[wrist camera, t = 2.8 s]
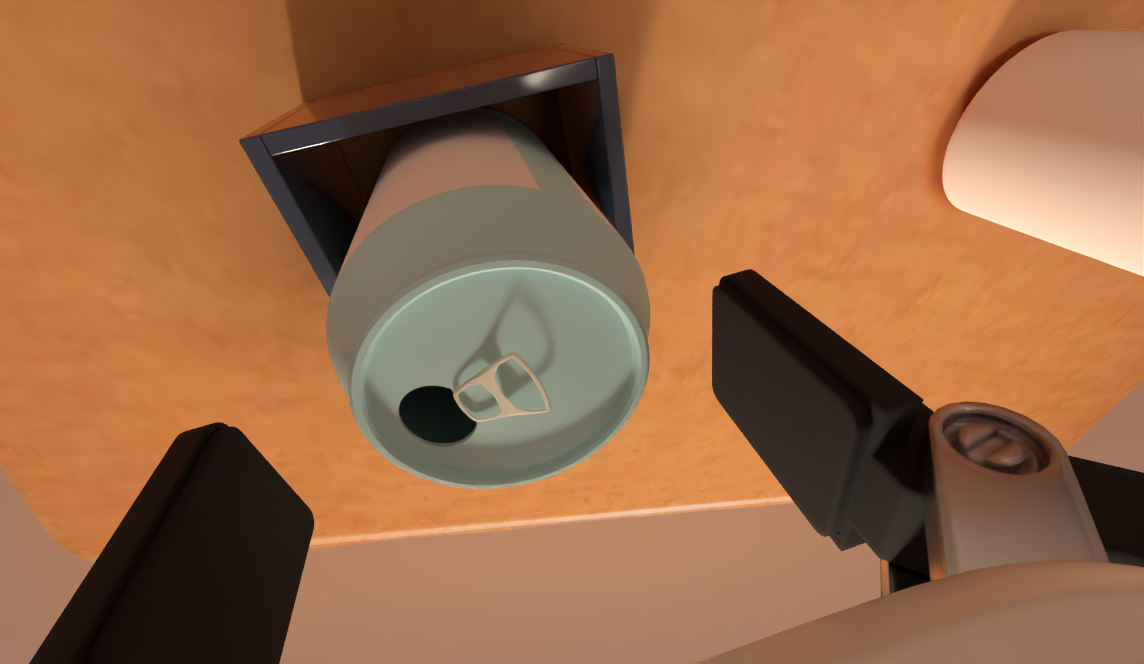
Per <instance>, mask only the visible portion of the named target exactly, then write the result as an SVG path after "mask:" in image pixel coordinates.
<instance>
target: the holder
mask: <svg viewBox="0 0 1144 664" xmlns="http://www.w3.org/2000/svg"><path fill="white" fill-rule="evenodd" d="M554 89H557V91H558V96H559V102H560V108H561V114H562V120H563V125H564V131H565V137H566V143H567V148H568V154H569V160H570V166H571V171H572V177H573V179H574V181H575V182H576V183H577V184H578V185H579V187H580V188H581V189H582V190H583V191H584V193H585V194H586V195H587V196H588V197H589V199H590V200H591V201H592V202H593V203H594V205H595V206H596V207H597V208H598V209H599V211H600V212H601V213H602V214H603V215H604V217H605V218H606V219H607V220H608V221H609V223H610V224H611V225H612V226H613V227H614V229H615V230H616V231H617V232H618V233H619V235H620V236H621V237H622V238H623V239H624V241H625V242H626V244H627V245H628V246H629V248H630V249H631V250H632V252H633V254H634V245H633V235H632V225H631V215H630V206H629V196H628V186H627V177H626V167H625V157H624V147H623V138H622V128H621V118H620V108H619V99H618V89H617V79H616V69H615V60H614V54H613V53H609V52H603V51H598V50H592V49H587V48H581V47H576V46H570V45H565V44H559V45H555V46H551V47H546V48H542V49H537V50H533V51H528V52H524V53H520V54H515V55H511V56H506V57H502V58H498V59H493V60H489V61H484V62H480V63H476V64H471V65H467V66H462V67H458V68H454V69H449V70H445V71H440V72H436V73H432V74H427V75H423V76H418V77H414V78H410V79H405V80H401V81H396V82H392V83H388V84H383V85H379V86H374V87H370V88H366V89H361V90H357V91H352V92H348V93H344V94H339V95H335V96H330V97H326V98H322V99H318V100H313V101H309V102H304V103H302V104H300V105H298V106H297V107H295V108H293V109H291V110H290V111H288V112H286V113H284V114H283V115H281V116H279V117H277V118H276V119H274V120H272V121H271V122H269V123H267V124H265V125H264V126H262V127H260V128H258V129H257V130H255V131H253V132H252V133H250V134H248V135H246V136H245V137H243V138H241V139H240V140H239V142H240V144H241V146H242V147H243V149H244V151H245V152H246V154H247V156H248V158H249V159H250V161H251V163H252V164H253V166H254V168H255V170H256V171H257V173H258V175H259V176H260V178H261V180H262V182H263V183H264V185H265V187H266V189H267V190H268V192H269V194H270V195H271V197H272V199H273V201H274V202H275V204H276V206H277V207H278V209H279V211H280V213H281V214H282V216H283V218H284V220H285V221H286V223H287V225H288V226H289V228H290V230H291V232H292V233H293V235H294V237H295V238H296V240H297V242H298V244H299V245H300V247H301V249H302V251H303V252H304V254H305V256H306V257H307V259H308V261H309V263H310V264H311V266H312V268H313V269H314V271H315V273H316V275H317V276H318V278H319V280H320V281H321V283H322V285H323V287H324V288H325V290H326V292H327V294H328V295H329V297H330V296H331V293H332V290H333V287H334V285H335V282H336V279H337V277H338V274H339V272H340V270H341V267H342V265H343V262H344V260H345V257H346V255H347V253H348V250H349V248H350V245H351V243H352V241H353V238H354V236H355V233H356V231H357V228H358V226H359V224H360V221H361V219H362V216H363V214H364V211H365V209H366V207H365V205H364V203H363V201H362V198H361V196H360V194H359V192H358V190H357V188H356V185H355V183H354V181H353V179H352V177H351V175H350V172H349V170H348V168H347V166H346V164H345V161H344V159H343V157H342V155H341V153H340V151H339V148H338V146H337V144H336V142H335V141H338V140H342V139H347V138H351V137H355V136H359V135H364V134H368V133H372V132H376V131H381V130H385V129H389V128H393V127H398V126H402V125H406V124H410V123H414V122H419V121H423V120H427V119H431V118H436V117H440V116H444V115H448V114H453V113H457V112H461V111H465V110H470V109H474V108H478V107H482V106H486V105H491V104H495V103H499V102H503V101H508V100H512V99H516V98H520V97H525V96H529V95H533V94H537V93H542V92H546V91H550V90H554ZM634 256H635V254H634Z"/></svg>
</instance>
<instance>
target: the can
mask: <svg viewBox="0 0 1144 664" xmlns="http://www.w3.org/2000/svg"><path fill="white" fill-rule="evenodd" d="M649 327H650V303H649V297H648V291H647V286H646V282H645V279H644V275H643V273H642V270H641V268H640V265H639V263H638V261H637V259H636V257H635V256H634V254H633V252H632V250H631V249H630V248H629V246H628V245H627V244H626V242H625V241H624V239H623V238H622V237H621V236H620V235H619V233H618V232H617V231H616V230H615V229H614V227H613V226H612V225H611V224H610V223H609V221H608V220H607V219H606V218H605V217H604V215H603V214H602V213H601V212H600V211H599V209H598V208H597V207H596V206H595V205H594V203H593V202H592V201H591V200H590V199H589V197H588V196H587V195H586V194H585V193H584V191H583V190H582V189H581V188H580V187H579V185H578V184H577V183H576V182H575V181H574V179H573V178H572V177H571V176H570V175H569V173H568V172H567V171H566V170H565V169H564V167H563V166H562V165H561V164H560V163H559V161H558V160H557V159H556V158H555V157H554V155H553V154H552V153H551V152H550V151H549V149H548V148H547V147H546V146H545V145H544V143H543V142H542V141H541V140H540V139H539V138H538V137H537V136H536V135H535V134H534V133H533V132H532V131H531V130H530V129H529V128H527V127H526V126H525V125H523V124H522V123H520V122H519V121H517V120H515V119H514V118H512V117H510V116H507V115H505V114H503V113H500V112H497V111H494V110H490V109H486V108H479V107H478V108H474V109H470V110H465V111H461V112H457V113H453V114H448V115H444V116H440V117H436V118H431V119H427V120H423V121H419V122H416V123H415V124H413V125H412V126H411V127H409V128H408V129H407V130H406V131H405V132H404V133H403V134H402V135H401V136H400V138H399V139H398V140H397V141H396V143H395V144H394V146H393V147H392V149H391V150H390V152H389V154H388V156H387V158H386V161H385V163H384V165H383V168H382V170H381V173H380V175H379V178H378V180H377V182H376V185H375V187H374V190H373V192H372V194H371V197H370V199H369V202H368V204H367V207H366V209H365V211H364V214H363V216H362V219H361V221H360V224H359V226H358V228H357V231H356V233H355V236H354V238H353V241H352V243H351V245H350V248H349V250H348V253H347V255H346V257H345V260H344V262H343V265H342V267H341V270H340V272H339V274H338V277H337V279H336V282H335V285H334V287H333V290H332V293H331V296H330V301H329V305H328V311H327V321H326V329H327V342H328V348H329V353H330V358H331V361H332V364H333V368H334V371H335V373H336V375H337V377H338V380H339V382H340V384H341V385H342V387H343V389H344V390H345V392H346V394H347V395H348V396H349V402H350V406H351V409H352V413H353V416H354V418H355V420H356V422H357V425H358V427H359V428H360V430H361V431H362V433H363V435H364V436H365V437H366V439H367V440H368V441H369V442H370V444H371V445H372V446H373V447H374V448H375V449H376V450H377V451H378V452H379V453H380V454H381V455H382V456H384V457H385V458H386V459H387V460H389V461H390V462H392V463H393V464H395V465H396V466H398V467H399V468H401V469H403V470H405V471H407V472H409V473H411V474H413V475H415V476H418V477H420V478H423V479H426V480H429V481H432V482H435V483H439V484H443V485H447V486H453V487H459V488H469V489H497V488H507V487H513V486H520V485H524V484H529V483H533V482H536V481H540V480H543V479H546V478H549V477H551V476H554V475H557V474H559V473H561V472H564V471H566V470H568V469H570V468H572V467H574V466H576V465H577V464H579V463H581V462H582V461H584V460H586V459H587V458H589V457H590V456H592V455H593V454H594V453H596V452H597V451H598V450H600V449H601V448H602V447H603V446H605V445H606V444H607V443H608V442H609V441H610V440H611V439H612V438H613V437H614V436H615V435H616V434H617V433H618V432H619V431H620V430H621V429H622V427H623V426H624V425H625V423H626V422H627V421H628V420H629V418H630V417H631V415H632V414H633V412H634V411H635V409H636V407H637V405H638V403H639V401H640V399H641V396H642V394H643V392H644V389H645V385H646V382H647V377H648V372H649V360H650V359H649V346H648V340H647V339H648V333H649Z"/></svg>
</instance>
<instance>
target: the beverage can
mask: <svg viewBox="0 0 1144 664" xmlns="http://www.w3.org/2000/svg"><path fill="white" fill-rule="evenodd" d="M942 179H943V187H944V191H945V194H946V196H947V198H948V199H949V201H950V202H951V203H952V204H953V205H954V206H955V207H956V208H958V209H960V210H962V211H964V212H967V213H970V214H973V215H975V216H978V217H981V218H984V219H986V220H989V221H992V222H995V223H997V224H1000V225H1003V226H1006V227H1008V228H1011V229H1014V230H1017V231H1019V232H1022V233H1025V234H1028V235H1031V236H1033V237H1036V238H1039V239H1042V240H1044V241H1047V242H1050V243H1053V244H1055V245H1058V246H1061V247H1064V248H1067V249H1069V250H1072V251H1075V252H1078V253H1080V254H1083V255H1086V256H1089V257H1091V258H1094V259H1097V260H1100V261H1102V262H1105V263H1108V264H1111V265H1114V266H1116V267H1119V268H1122V269H1125V270H1127V271H1130V272H1133V273H1136V274H1138V275H1141V276H1144V31H1143V30H1067V31H1062V32H1058V33H1055V34H1052V35H1049V36H1047V37H1044V38H1042V39H1040V40H1038V41H1036V42H1034V43H1033V44H1031V45H1029V46H1028V47H1026V48H1024V49H1023V50H1021V51H1020V52H1019V53H1017V54H1016V55H1015V56H1013V57H1012V58H1011V59H1010V60H1008V61H1007V62H1006V63H1005V64H1004V65H1003V66H1002V67H1000V68H999V69H998V70H997V71H996V72H995V73H994V74H993V75H992V76H991V77H990V78H989V80H988V81H987V82H986V83H985V84H984V85H983V86H982V88H981V89H980V90H979V91H978V93H977V94H976V95H975V96H974V98H973V99H972V101H971V102H970V103H969V105H968V106H967V108H966V110H965V111H964V113H963V114H962V116H961V118H960V120H959V121H958V123H957V125H956V127H955V129H954V132H953V134H952V136H951V138H950V141H949V144H948V147H947V150H946V153H945V158H944V163H943V171H942Z"/></svg>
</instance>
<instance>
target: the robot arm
mask: <svg viewBox="0 0 1144 664" xmlns="http://www.w3.org/2000/svg"><path fill="white" fill-rule="evenodd" d="M712 387H713V391H714V394H715V396H716V398H717V400H718V401H719V403H720V404H721V405H722V407H723V408H724V409H725V411H726V412H727V413H728V415H729V416H730V417H731V419H732V420H733V421H734V423H735V424H736V425H737V427H738V428H739V429H740V431H741V432H742V433H743V435H744V436H745V437H746V439H747V440H748V441H749V443H750V444H751V445H752V447H753V448H754V449H755V451H756V452H757V453H758V455H759V456H760V457H761V459H762V460H763V461H764V463H765V464H766V465H767V467H768V468H769V469H770V471H771V472H772V473H773V475H774V476H775V477H776V479H777V480H778V481H779V483H780V484H781V485H782V486H783V488H784V489H785V490H786V492H787V493H788V494H789V496H790V497H791V498H792V500H793V501H794V502H795V504H796V505H797V506H798V508H799V509H800V510H801V512H802V513H803V514H804V516H805V517H806V518H807V520H808V521H809V522H810V524H811V525H812V526H813V528H814V529H815V530H816V531H817V532H818V533H819V534H820V535H822V536H830V537H831V539H833V541H834V542H835V544H836V545H837V546H838V548H839V549H840V550H841V551H844V550H846V549H849V548H852V547H855V546H857V545H860V544H863V543H867V544H868V545H869V547H870V548H871V549H872V550H873V551H874V553H875V554H876V555H877V556H878V558H880V569H881V571H880V572H881V597H880V598H877V599H874V600H872V601H868V602H866V603H863V604H860V605H857V606H854V607H851V608H848V609H845V610H842V611H839V612H837V613H833V614H831V615H828V616H825V617H822V618H819V619H816V620H813V621H810V622H807V623H805V624H802V625H799V626H796V627H794V628H791V629H788V630H785V631H783V632H780V633H777V634H774V635H771V636H769V637H766V638H764V639H761V640H758V641H755V642H752V643H750V644H747V645H744V646H741V647H739V648H736V649H733V650H730V651H728V652H725V653H722V654H719V655H717V656H714V657H711V658H709V659H706V660H703V661H701V662H698V663H695V664H1144V473H1142V472H1138V471H1133V470H1129V469H1124V468H1120V467H1115V466H1111V465H1107V464H1103V463H1098V462H1094V461H1090V460H1085V459H1081V458H1077V457H1072V456H1068V455H1067V453H1066V451H1065V450H1064V448H1063V446H1062V445H1061V443H1060V442H1059V440H1058V439H1057V438H1056V437H1055V436H1053V435H1052V434H1051V433H1050V432H1049V431H1048V430H1047V429H1046V428H1044V427H1043V426H1041V425H1040V424H1038V423H1036V422H1035V421H1033V420H1031V419H1030V418H1028V417H1026V416H1024V415H1022V414H1019V413H1017V412H1014V411H1012V410H1009V409H1007V408H1004V407H999V406H995V405H991V404H987V403H978V402H958V403H950V404H948V405H945V406H943V407H941V408H938V409H937V410H936V411H935V412H933V411H932V410H931V409H929V408H928V407H927V406H926V405H924V404H923V403H922V402H923V399H922V398H921V397H919V396H918V395H917V394H915V393H914V392H913V391H911V390H910V389H909V388H907V387H906V386H905V385H903V384H902V383H901V382H900V381H898V380H897V379H896V378H894V377H893V376H892V375H890V374H889V373H888V372H886V371H885V370H884V369H883V368H881V367H880V366H879V365H877V364H876V363H875V362H873V361H872V360H871V359H869V358H868V357H867V356H865V355H864V354H863V353H862V352H860V351H859V350H858V349H856V348H855V347H854V346H852V345H851V344H850V343H848V342H847V341H846V340H844V339H843V338H842V337H841V336H839V335H838V334H837V333H835V332H834V331H833V330H831V329H830V328H829V327H827V326H826V325H825V324H824V323H822V322H821V321H820V320H818V319H817V318H816V317H814V316H813V315H812V314H810V313H809V312H808V311H806V310H805V309H804V308H803V307H801V306H800V305H799V304H797V303H796V302H795V301H793V300H792V299H791V298H789V297H788V296H787V295H785V294H784V293H783V292H782V291H780V290H779V289H778V288H776V287H775V286H774V285H772V284H771V283H770V282H768V281H767V280H766V279H764V278H763V277H762V276H761V275H759V274H758V273H757V272H755V271H753V270H752V269H749V270H745V271H741V272H738V273H734V274H731V275H727V276H724V277H722V278H721V280H720V282H719V285H718V286H715V287H714V289H713V300H712ZM313 529H314V518H313V514H312V511H311V510H310V508H309V507H308V506H307V505H306V504H305V503H304V502H303V501H302V499H301V498H300V497H299V496H298V495H297V494H296V493H295V492H294V490H293V489H292V488H291V487H290V486H289V485H288V484H287V482H286V481H285V480H284V479H283V478H282V477H281V476H280V475H279V473H278V472H277V471H276V470H275V469H274V468H273V467H272V466H271V464H270V463H269V462H268V461H267V460H266V459H265V458H264V457H263V455H262V454H261V453H260V452H259V451H258V450H257V449H256V448H255V446H254V445H253V444H252V443H251V442H250V441H249V440H248V439H247V437H246V436H245V435H244V434H243V433H242V432H241V431H240V430H239V429H238V428H236V427H229V426H227V425H226V424H224V423H213V424H209V425H206V426H202V427H199V428H195V429H192V430H188V431H185V432H183V433H181V434H179V435H178V436H177V438H176V439H175V440H174V442H173V443H172V445H171V446H170V448H169V449H168V451H167V453H166V454H165V456H164V457H163V459H162V460H161V462H160V463H159V465H158V466H157V468H156V469H155V471H154V472H153V474H152V476H151V477H150V479H149V480H148V482H147V483H146V485H145V486H144V488H143V489H142V491H141V492H140V494H139V496H138V497H137V499H136V500H135V502H134V503H133V505H132V506H131V508H130V509H129V511H128V512H127V514H126V516H125V517H124V519H123V520H122V522H121V523H120V525H119V526H118V528H117V529H116V531H115V532H114V534H113V536H112V537H111V539H110V540H109V542H108V543H107V545H106V546H105V548H104V549H103V551H102V552H101V554H100V556H99V557H98V559H97V560H96V562H95V563H94V565H93V567H92V568H91V570H90V571H89V572H88V574H87V576H86V577H85V579H84V580H83V582H82V583H81V585H80V586H79V588H78V589H77V591H76V592H75V594H74V595H73V597H72V599H71V600H70V602H69V603H68V605H67V606H66V608H65V609H64V611H63V612H62V614H61V616H60V617H59V619H58V620H57V622H56V623H55V625H54V626H53V628H52V629H51V631H50V633H49V634H48V636H47V637H46V639H45V640H44V642H43V643H42V645H41V646H40V648H39V649H38V651H37V653H36V654H35V656H34V657H33V659H32V660H31V662H30V663H29V664H279V662H280V658H281V654H282V651H283V647H284V642H285V639H286V635H287V631H288V627H289V623H290V619H291V615H292V611H293V607H294V603H295V599H296V596H297V592H298V588H299V584H300V580H301V575H302V572H303V568H304V564H305V560H306V556H307V552H308V549H309V545H310V541H311V537H312V533H313Z"/></svg>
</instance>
